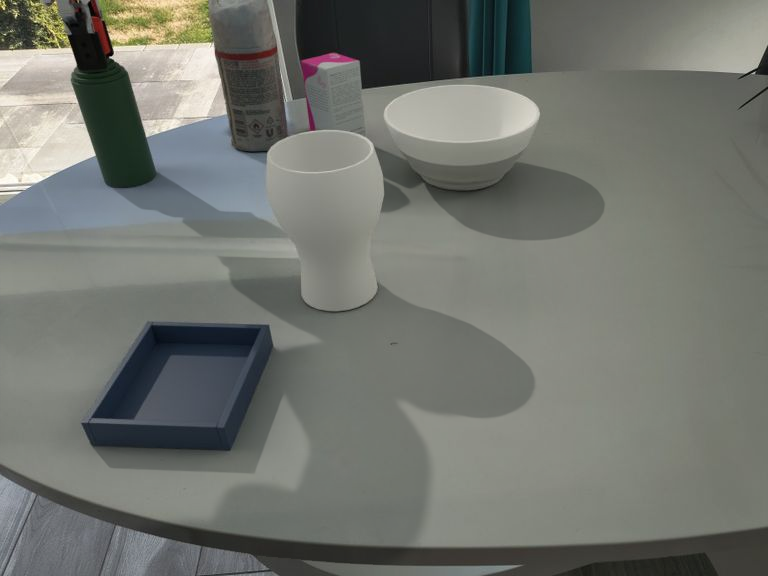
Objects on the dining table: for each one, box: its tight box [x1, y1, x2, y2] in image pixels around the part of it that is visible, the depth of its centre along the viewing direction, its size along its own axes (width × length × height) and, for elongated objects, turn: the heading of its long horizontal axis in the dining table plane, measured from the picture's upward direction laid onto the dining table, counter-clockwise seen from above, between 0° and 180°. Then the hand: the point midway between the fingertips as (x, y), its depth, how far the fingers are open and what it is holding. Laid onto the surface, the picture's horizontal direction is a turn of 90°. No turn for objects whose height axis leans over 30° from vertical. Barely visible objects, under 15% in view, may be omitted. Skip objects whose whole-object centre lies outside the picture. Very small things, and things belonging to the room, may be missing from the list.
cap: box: [83, 17, 110, 54], centre depth 85 cm, size 4×4×4 cm
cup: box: [265, 130, 385, 312], centre depth 70 cm, size 11×11×15 cm
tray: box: [80, 320, 274, 451], centre depth 62 cm, size 11×13×2 cm
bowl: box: [383, 84, 541, 192], centre depth 94 cm, size 20×20×8 cm
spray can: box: [208, 0, 290, 152], centre depth 98 cm, size 8×8×20 cm
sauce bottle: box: [70, 55, 157, 189], centre depth 90 cm, size 6×6×18 cm
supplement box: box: [300, 52, 367, 138], centre depth 100 cm, size 6×6×12 cm
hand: (96, 61), depth 86 cm, fingers closed on cap, sauce bottle, 4 cm apart
